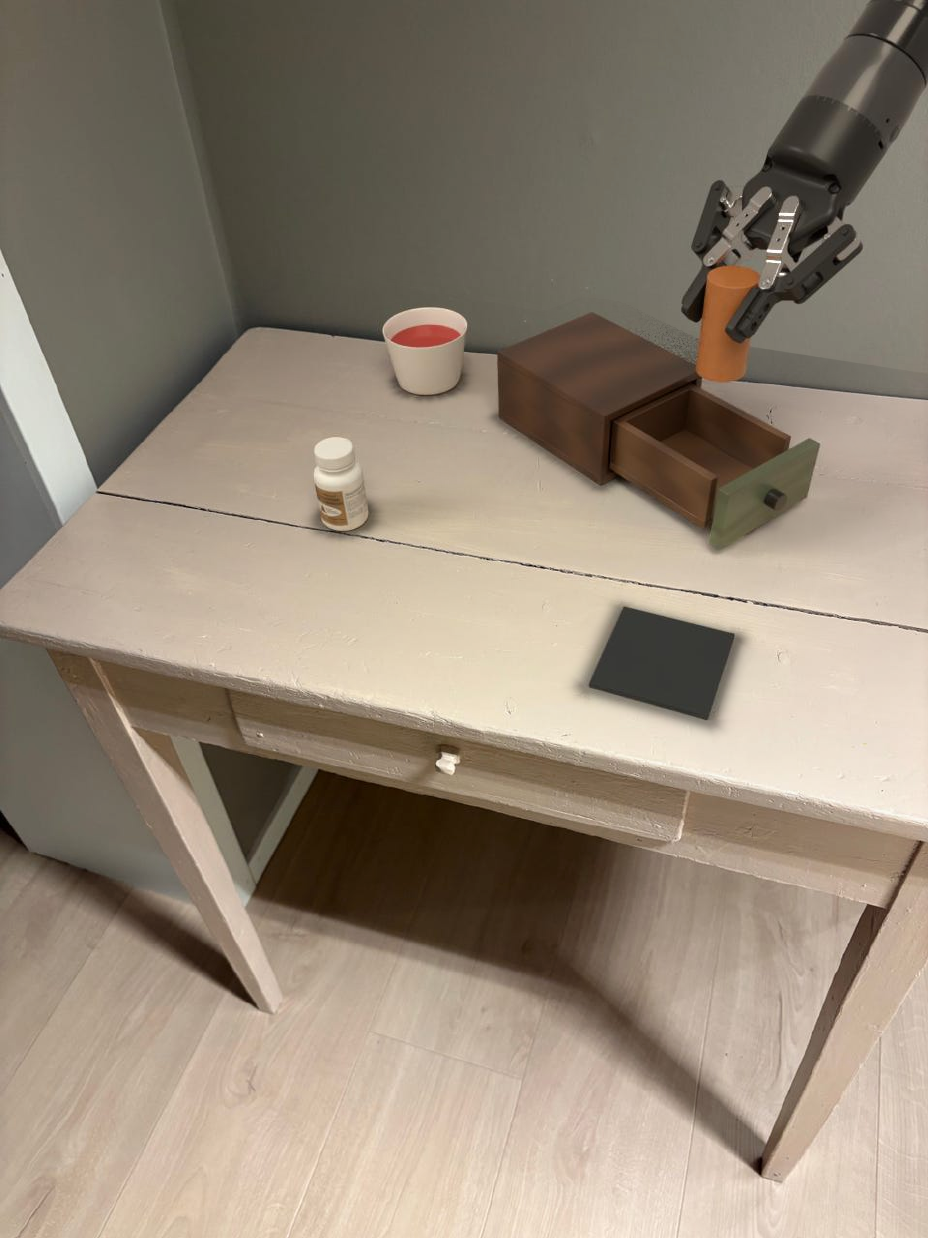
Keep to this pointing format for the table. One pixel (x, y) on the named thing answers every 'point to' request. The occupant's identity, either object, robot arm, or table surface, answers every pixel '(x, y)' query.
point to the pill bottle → (339, 485)
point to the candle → (426, 349)
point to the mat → (663, 662)
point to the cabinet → (584, 387)
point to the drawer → (711, 462)
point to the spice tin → (723, 324)
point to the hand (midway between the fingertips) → (710, 326)
